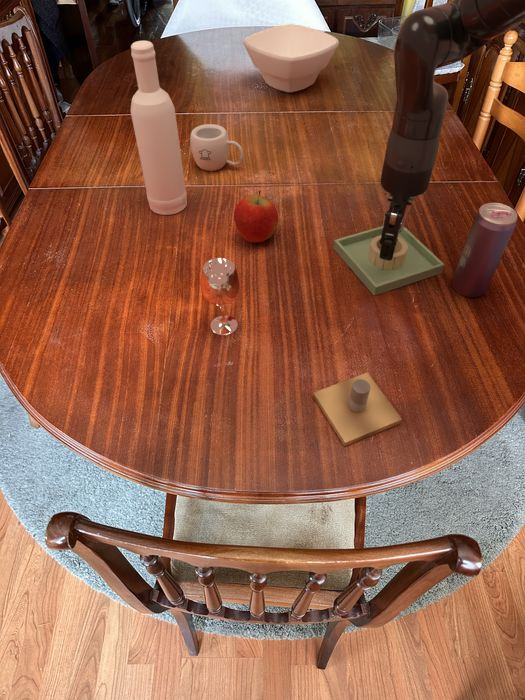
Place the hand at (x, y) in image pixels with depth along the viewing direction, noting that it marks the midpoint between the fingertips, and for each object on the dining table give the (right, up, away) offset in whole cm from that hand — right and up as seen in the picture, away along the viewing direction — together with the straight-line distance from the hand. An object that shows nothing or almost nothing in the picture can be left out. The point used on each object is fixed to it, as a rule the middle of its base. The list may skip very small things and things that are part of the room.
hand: (390, 244), depth 90 cm
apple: (-24, +3, +8) cm, 25 cm away
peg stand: (-10, -27, -18) cm, 34 cm away
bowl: (-15, +56, +54) cm, 79 cm away
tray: (0, -2, +3) cm, 4 cm away
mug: (-33, +23, +25) cm, 47 cm away
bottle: (-42, +11, +15) cm, 46 cm away
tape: (0, -2, +3) cm, 3 cm away
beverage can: (+13, -8, -2) cm, 15 cm away
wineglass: (-29, -15, -7) cm, 33 cm away
